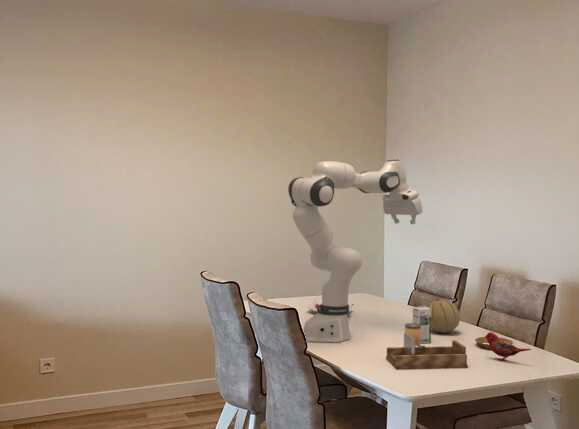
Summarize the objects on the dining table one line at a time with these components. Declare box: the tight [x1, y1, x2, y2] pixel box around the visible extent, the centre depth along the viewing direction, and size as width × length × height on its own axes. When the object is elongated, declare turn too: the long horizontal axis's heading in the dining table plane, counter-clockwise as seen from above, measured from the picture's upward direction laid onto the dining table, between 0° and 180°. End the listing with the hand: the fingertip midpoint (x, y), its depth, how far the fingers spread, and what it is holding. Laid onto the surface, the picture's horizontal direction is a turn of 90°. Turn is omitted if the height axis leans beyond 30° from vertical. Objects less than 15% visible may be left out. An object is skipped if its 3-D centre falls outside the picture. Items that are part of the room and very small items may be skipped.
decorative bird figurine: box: [484, 331, 532, 362], centre depth 234 cm, size 3×18×10 cm, turn 50°
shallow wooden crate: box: [385, 340, 469, 371], centre depth 230 cm, size 26×14×7 cm, turn 97°
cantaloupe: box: [428, 298, 461, 334], centre depth 281 cm, size 15×15×15 cm
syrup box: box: [412, 305, 432, 344], centre depth 263 cm, size 6×6×14 cm
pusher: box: [403, 332, 426, 355], centre depth 230 cm, size 6×9×9 cm
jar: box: [404, 322, 421, 346], centre depth 246 cm, size 6×6×11 cm
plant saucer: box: [474, 336, 514, 350], centre depth 256 cm, size 15×15×3 cm
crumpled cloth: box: [307, 294, 355, 313], centre depth 320 cm, size 24×35×9 cm
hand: (405, 223), depth 287 cm, fingers open, 8 cm apart
